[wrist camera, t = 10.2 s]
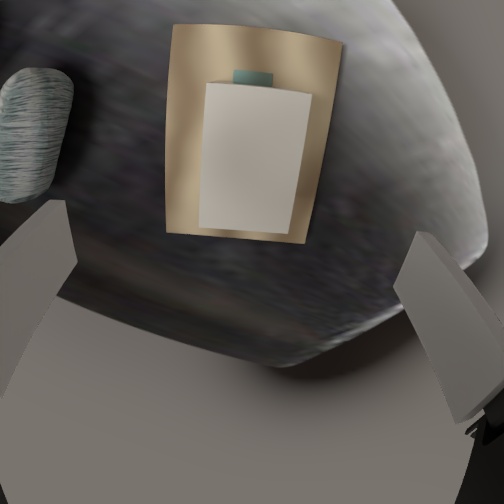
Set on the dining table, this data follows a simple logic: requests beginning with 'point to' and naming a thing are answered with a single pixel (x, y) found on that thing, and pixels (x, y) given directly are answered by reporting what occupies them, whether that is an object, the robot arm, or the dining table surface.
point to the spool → (32, 131)
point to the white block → (251, 156)
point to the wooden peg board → (249, 73)
